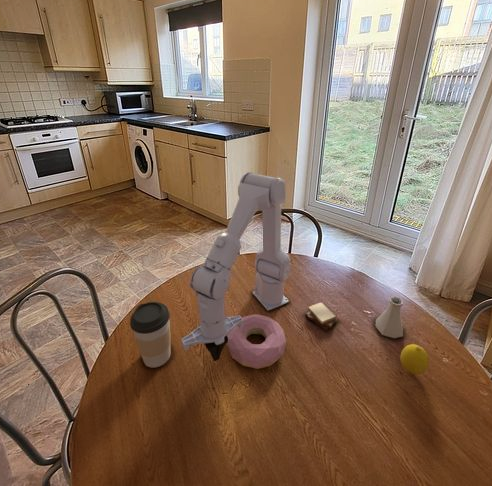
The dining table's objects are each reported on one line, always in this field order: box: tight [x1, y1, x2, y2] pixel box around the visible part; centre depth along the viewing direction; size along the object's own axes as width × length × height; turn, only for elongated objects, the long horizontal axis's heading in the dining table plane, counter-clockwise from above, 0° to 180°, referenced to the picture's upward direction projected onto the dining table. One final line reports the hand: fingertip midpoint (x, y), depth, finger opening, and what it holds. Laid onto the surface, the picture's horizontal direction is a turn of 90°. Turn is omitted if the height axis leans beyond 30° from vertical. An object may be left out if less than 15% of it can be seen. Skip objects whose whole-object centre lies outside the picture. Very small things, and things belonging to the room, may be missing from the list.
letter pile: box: [305, 301, 338, 331], centre depth 84 cm, size 8×7×2 cm
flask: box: [375, 296, 404, 339], centre depth 80 cm, size 7×7×10 cm
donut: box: [226, 313, 287, 370], centre depth 76 cm, size 16×15×5 cm
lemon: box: [400, 343, 429, 376], centre depth 68 cm, size 6×6×8 cm
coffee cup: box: [129, 301, 172, 369], centre depth 71 cm, size 9×9×15 cm
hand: (215, 357), depth 70 cm, fingers closed
